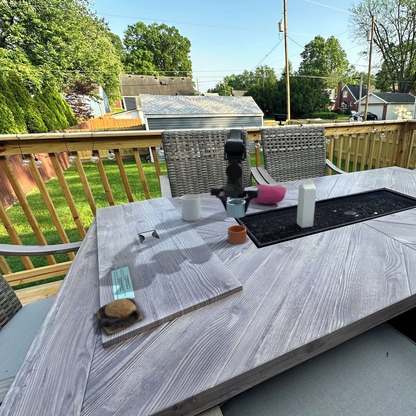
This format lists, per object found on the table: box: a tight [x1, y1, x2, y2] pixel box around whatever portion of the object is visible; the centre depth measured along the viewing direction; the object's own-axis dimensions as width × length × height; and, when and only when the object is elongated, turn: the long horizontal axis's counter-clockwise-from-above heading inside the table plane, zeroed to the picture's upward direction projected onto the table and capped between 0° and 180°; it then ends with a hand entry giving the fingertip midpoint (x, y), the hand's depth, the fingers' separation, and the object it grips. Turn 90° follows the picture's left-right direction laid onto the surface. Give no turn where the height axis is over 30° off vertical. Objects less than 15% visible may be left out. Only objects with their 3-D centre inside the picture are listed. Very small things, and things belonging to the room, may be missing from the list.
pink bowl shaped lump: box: [251, 184, 287, 205], centre depth 155 cm, size 23×19×10 cm
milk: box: [296, 179, 317, 229], centre depth 123 cm, size 6×6×22 cm
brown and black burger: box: [96, 297, 144, 336], centre depth 65 cm, size 11×8×4 cm
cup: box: [227, 224, 247, 245], centre depth 107 cm, size 7×7×5 cm
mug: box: [180, 193, 203, 223], centre depth 126 cm, size 12×9×11 cm
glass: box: [226, 199, 246, 219], centre depth 106 cm, size 7×7×6 cm
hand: (236, 212), depth 106 cm, fingers closed on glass, 7 cm apart
